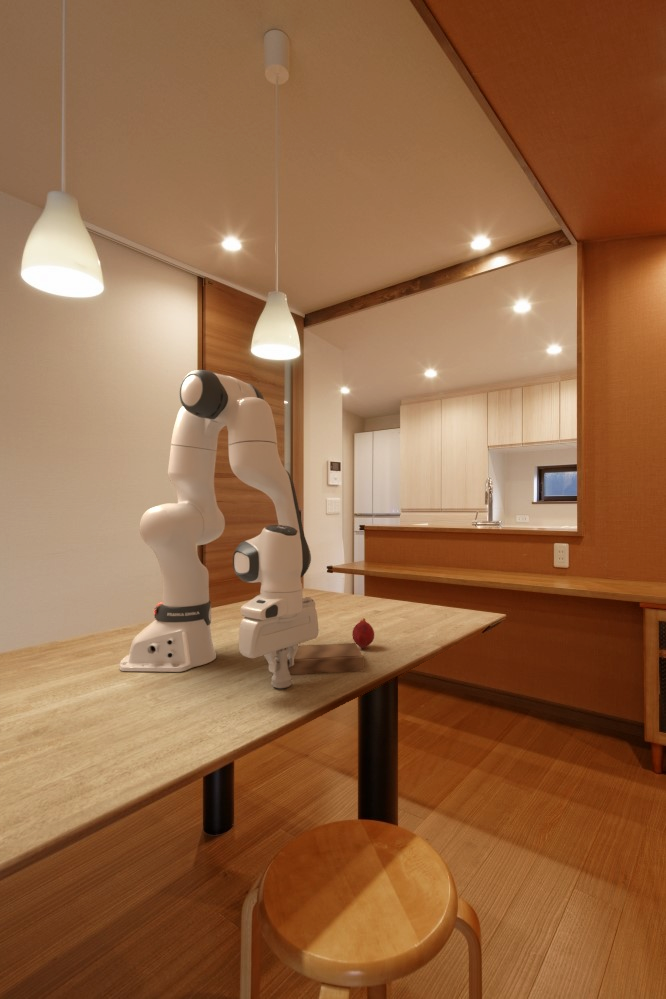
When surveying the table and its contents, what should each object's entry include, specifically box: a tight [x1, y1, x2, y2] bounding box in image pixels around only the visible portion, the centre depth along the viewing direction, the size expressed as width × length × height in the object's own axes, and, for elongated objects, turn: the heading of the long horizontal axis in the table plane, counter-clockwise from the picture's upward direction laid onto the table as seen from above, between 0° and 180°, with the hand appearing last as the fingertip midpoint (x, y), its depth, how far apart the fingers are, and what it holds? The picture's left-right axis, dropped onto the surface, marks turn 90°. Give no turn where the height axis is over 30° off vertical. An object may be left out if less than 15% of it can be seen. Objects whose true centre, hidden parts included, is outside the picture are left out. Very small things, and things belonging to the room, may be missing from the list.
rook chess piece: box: [270, 647, 293, 689], centre depth 104 cm, size 4×4×8 cm
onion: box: [351, 617, 375, 650], centre depth 130 cm, size 6×6×8 cm
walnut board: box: [288, 642, 365, 676], centre depth 118 cm, size 20×12×3 cm, turn 97°
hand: (281, 668), depth 104 cm, fingers closed on rook chess piece, 3 cm apart
